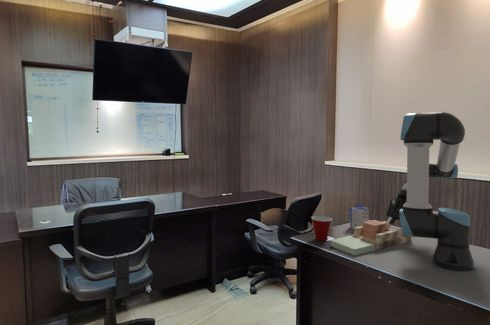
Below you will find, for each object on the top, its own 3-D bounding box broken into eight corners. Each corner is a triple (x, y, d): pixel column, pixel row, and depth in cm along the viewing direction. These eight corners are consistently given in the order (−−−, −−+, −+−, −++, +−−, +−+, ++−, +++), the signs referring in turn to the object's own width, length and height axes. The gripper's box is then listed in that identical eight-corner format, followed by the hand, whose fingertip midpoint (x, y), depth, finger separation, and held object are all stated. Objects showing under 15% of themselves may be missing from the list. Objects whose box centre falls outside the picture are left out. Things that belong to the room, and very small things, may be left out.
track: (385, 233, 191) (386, 220, 191) (411, 240, 177) (411, 227, 177) (349, 241, 179) (349, 228, 178) (374, 250, 165) (374, 236, 164)
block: (373, 233, 181) (373, 219, 180) (386, 237, 174) (386, 223, 173) (362, 236, 177) (362, 222, 177) (375, 240, 170) (375, 225, 170)
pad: (349, 241, 179) (349, 235, 179) (374, 250, 165) (374, 244, 165) (330, 245, 173) (330, 240, 173) (354, 255, 159) (354, 249, 159)
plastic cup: (335, 241, 179) (335, 219, 178) (315, 243, 178) (315, 220, 176) (327, 235, 190) (327, 214, 189) (308, 237, 188) (308, 215, 187)
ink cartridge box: (366, 226, 205) (366, 202, 204) (369, 229, 200) (369, 204, 199) (349, 226, 206) (349, 203, 204) (352, 229, 200) (352, 205, 199)
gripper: (421, 199, 181) (399, 235, 175) (400, 195, 193) (379, 229, 187) (415, 190, 178) (392, 226, 172) (394, 187, 190) (372, 221, 184)
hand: (385, 228), depth 179 cm, fingers closed
